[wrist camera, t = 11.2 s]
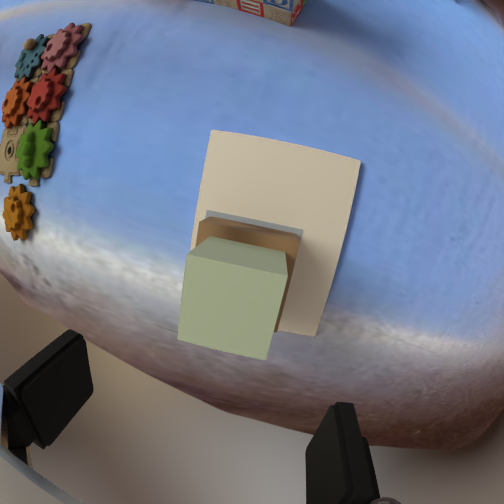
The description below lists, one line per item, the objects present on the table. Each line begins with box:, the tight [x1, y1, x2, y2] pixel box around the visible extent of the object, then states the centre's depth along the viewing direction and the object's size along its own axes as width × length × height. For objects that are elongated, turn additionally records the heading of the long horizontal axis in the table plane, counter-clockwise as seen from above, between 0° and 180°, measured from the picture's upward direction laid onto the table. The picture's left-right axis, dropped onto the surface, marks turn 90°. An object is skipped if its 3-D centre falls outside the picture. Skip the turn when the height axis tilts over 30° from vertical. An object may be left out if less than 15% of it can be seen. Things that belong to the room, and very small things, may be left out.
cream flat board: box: [190, 130, 361, 337], centre depth 26 cm, size 14×18×1 cm
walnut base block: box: [195, 216, 300, 332], centre depth 25 cm, size 8×8×4 cm
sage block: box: [177, 236, 288, 360], centre depth 20 cm, size 6×6×6 cm
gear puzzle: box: [0, 23, 91, 241], centre depth 24 cm, size 31×16×4 cm, turn 169°
